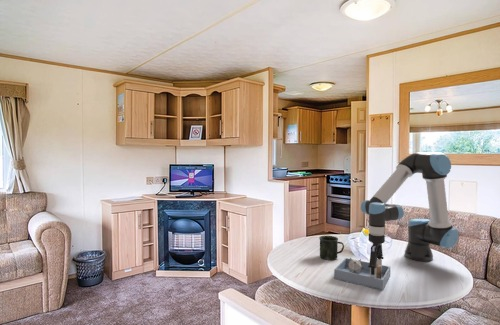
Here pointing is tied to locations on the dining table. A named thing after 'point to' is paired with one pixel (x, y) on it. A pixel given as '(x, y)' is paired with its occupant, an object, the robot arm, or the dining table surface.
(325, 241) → the mug
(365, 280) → the tote
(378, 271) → the walnut cylinder
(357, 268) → the game die
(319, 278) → the dining table surface
